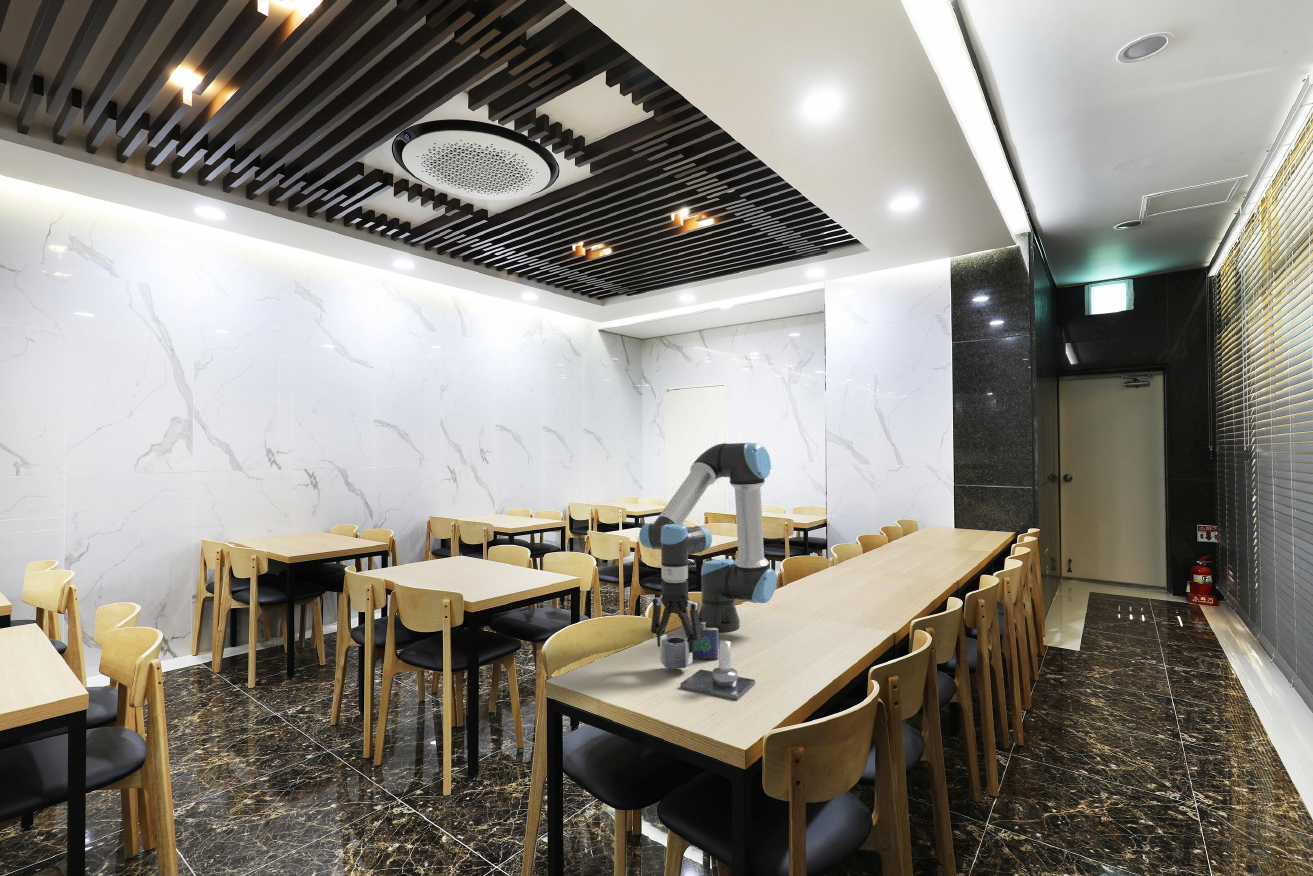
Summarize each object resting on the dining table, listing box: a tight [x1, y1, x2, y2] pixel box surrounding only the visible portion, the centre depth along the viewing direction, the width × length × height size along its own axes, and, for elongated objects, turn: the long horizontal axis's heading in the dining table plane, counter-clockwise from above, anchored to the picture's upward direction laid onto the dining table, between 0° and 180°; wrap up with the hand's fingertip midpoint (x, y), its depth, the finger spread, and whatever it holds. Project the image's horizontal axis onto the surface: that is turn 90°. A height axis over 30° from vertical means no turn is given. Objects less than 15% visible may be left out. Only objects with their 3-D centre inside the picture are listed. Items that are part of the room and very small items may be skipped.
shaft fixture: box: [679, 639, 756, 701], centre depth 162 cm, size 12×16×12 cm
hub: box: [661, 635, 691, 670], centre depth 173 cm, size 7×7×6 cm
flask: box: [692, 622, 719, 661], centre depth 184 cm, size 9×3×11 cm, turn 78°
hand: (676, 660), depth 173 cm, fingers closed on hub, 7 cm apart
